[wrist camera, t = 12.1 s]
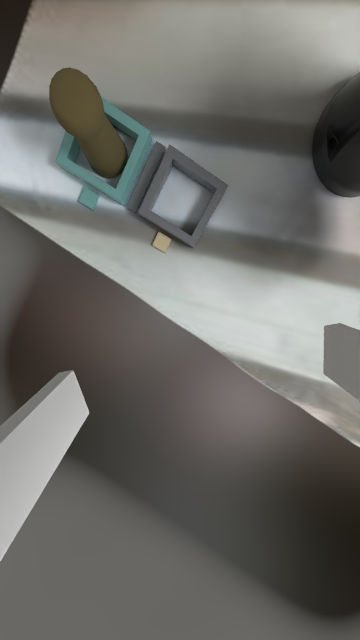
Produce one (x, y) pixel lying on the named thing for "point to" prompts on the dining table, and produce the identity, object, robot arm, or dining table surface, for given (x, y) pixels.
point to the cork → (87, 121)
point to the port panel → (143, 177)
